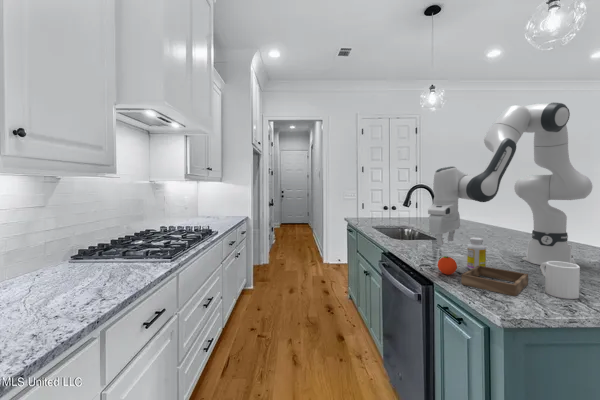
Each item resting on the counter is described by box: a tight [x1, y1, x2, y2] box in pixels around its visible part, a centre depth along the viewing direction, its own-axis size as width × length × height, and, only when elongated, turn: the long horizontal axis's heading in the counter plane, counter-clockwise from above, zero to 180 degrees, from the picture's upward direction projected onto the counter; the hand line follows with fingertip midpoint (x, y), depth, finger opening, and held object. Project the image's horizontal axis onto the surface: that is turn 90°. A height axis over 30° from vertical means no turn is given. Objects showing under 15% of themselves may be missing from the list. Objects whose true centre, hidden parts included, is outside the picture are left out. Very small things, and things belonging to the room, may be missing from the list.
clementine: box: [437, 255, 458, 276], centre depth 119 cm, size 8×7×7 cm
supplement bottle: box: [466, 237, 487, 270], centre depth 125 cm, size 7×7×13 cm
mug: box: [539, 261, 581, 300], centre depth 97 cm, size 8×12×10 cm
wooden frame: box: [461, 266, 529, 297], centre depth 106 cm, size 17×16×4 cm
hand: (445, 242), depth 119 cm, fingers open, 8 cm apart
